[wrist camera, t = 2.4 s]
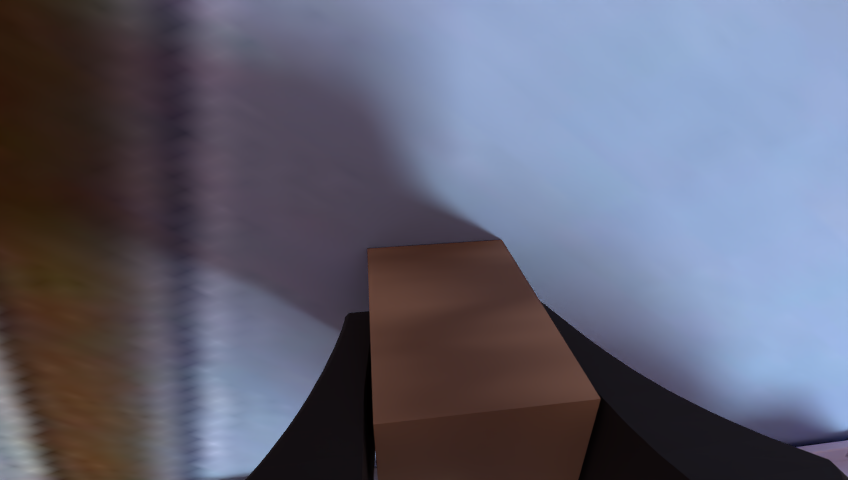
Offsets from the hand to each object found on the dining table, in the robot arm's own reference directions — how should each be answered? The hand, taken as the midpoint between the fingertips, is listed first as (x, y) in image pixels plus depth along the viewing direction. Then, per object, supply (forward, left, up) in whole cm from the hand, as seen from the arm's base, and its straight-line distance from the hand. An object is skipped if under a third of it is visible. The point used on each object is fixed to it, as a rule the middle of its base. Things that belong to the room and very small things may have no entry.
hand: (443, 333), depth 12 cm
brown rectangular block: (0, 0, -2) cm, 2 cm away
